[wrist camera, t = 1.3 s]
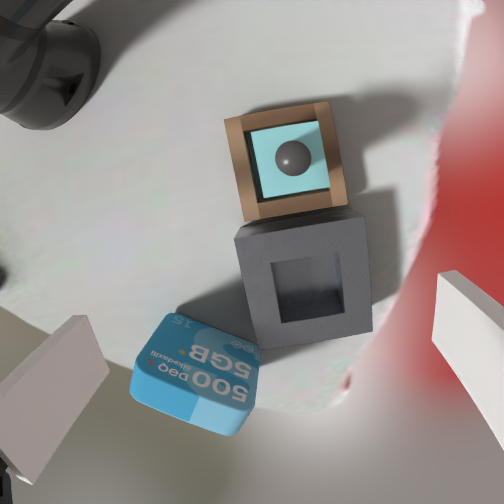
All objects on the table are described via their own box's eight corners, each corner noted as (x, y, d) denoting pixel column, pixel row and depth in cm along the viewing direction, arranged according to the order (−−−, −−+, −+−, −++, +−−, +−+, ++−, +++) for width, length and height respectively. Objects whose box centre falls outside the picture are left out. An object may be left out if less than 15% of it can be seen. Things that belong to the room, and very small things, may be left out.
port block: (240, 227, 33) (233, 238, 28) (352, 208, 32) (364, 216, 27) (261, 326, 36) (258, 350, 31) (361, 310, 35) (372, 331, 30)
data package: (262, 345, 37) (254, 414, 26) (248, 371, 38) (237, 440, 27) (170, 308, 37) (130, 365, 25) (161, 336, 38) (124, 396, 27)
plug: (260, 143, 31) (245, 127, 16) (303, 136, 30) (324, 113, 16) (269, 185, 32) (261, 204, 17) (311, 178, 31) (338, 191, 17)
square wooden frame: (228, 123, 30) (223, 119, 27) (324, 106, 29) (329, 101, 26) (247, 216, 33) (244, 221, 30) (341, 200, 31) (347, 204, 29)
